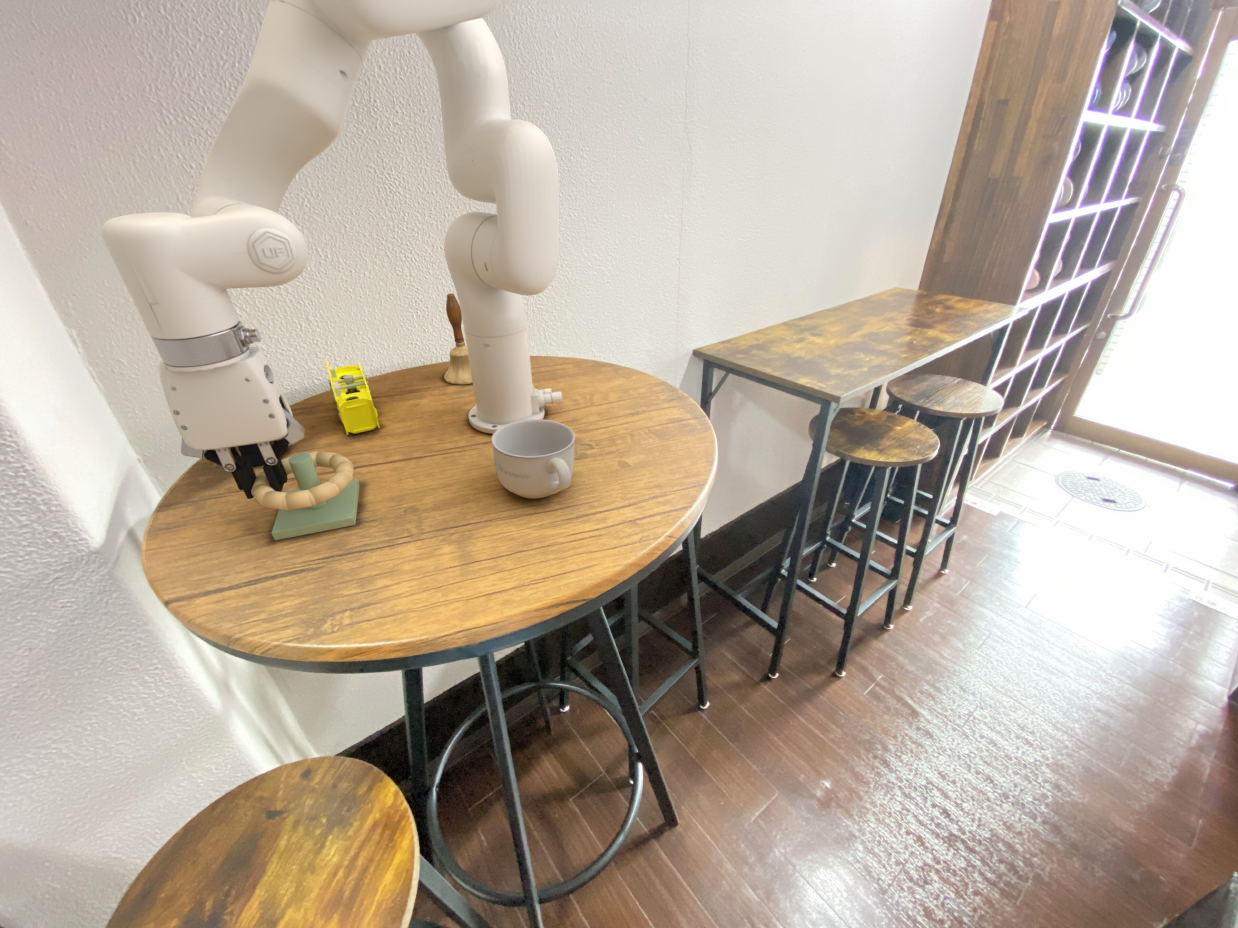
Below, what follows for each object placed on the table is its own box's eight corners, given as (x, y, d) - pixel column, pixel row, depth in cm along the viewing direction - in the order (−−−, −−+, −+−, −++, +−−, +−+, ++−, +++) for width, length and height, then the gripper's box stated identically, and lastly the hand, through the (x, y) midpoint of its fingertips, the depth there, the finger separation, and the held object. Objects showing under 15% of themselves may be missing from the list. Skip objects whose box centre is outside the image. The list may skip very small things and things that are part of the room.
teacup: (491, 473, 76) (483, 424, 72) (563, 457, 80) (560, 409, 75) (515, 532, 65) (507, 478, 61) (597, 510, 69) (595, 458, 65)
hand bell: (465, 388, 100) (451, 303, 92) (435, 378, 104) (418, 296, 95) (496, 373, 106) (485, 292, 97) (466, 364, 110) (453, 285, 101)
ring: (357, 456, 72) (353, 443, 71) (352, 502, 64) (348, 488, 63) (265, 469, 69) (260, 456, 68) (247, 520, 60) (240, 506, 59)
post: (359, 485, 74) (343, 434, 69) (355, 525, 66) (336, 470, 62) (287, 498, 71) (265, 445, 67) (274, 540, 64) (248, 485, 60)
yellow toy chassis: (336, 400, 96) (321, 356, 91) (369, 394, 98) (357, 351, 94) (345, 440, 84) (329, 392, 80) (383, 431, 86) (370, 384, 82)
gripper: (295, 326, 60) (341, 463, 70) (126, 342, 56) (200, 485, 66) (283, 348, 54) (335, 494, 64) (93, 368, 50) (180, 521, 60)
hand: (266, 489), depth 65 cm, fingers closed on ring, 2 cm apart
